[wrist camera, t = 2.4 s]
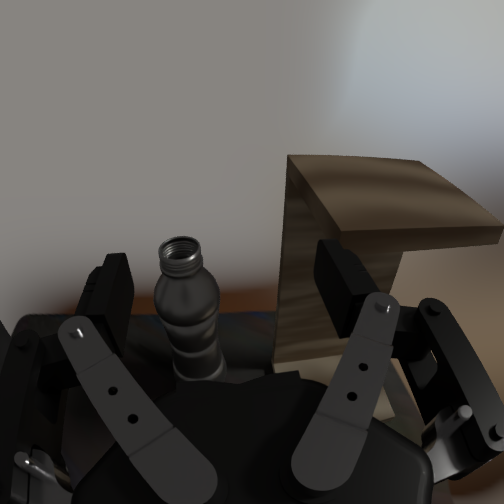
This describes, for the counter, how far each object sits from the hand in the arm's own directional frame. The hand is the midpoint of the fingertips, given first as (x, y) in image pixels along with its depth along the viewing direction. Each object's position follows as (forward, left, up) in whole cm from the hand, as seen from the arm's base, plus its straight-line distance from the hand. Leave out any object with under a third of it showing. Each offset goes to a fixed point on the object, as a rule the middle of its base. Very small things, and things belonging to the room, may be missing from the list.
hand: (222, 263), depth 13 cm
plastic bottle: (+6, +11, -27) cm, 30 cm away
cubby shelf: (+14, -3, -27) cm, 30 cm away
